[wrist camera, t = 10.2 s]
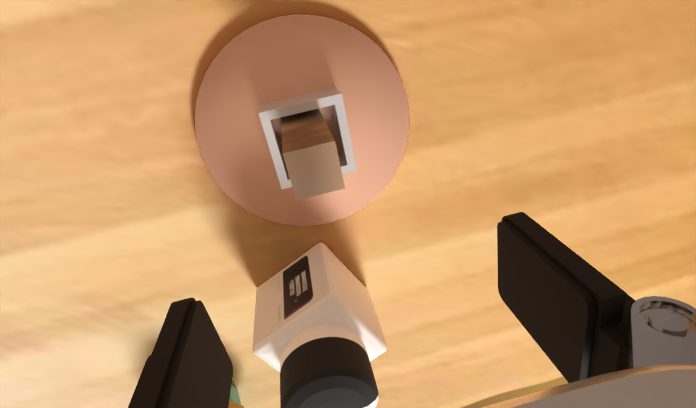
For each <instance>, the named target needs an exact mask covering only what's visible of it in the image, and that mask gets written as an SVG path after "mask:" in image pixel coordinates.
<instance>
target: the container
mask: <svg viewBox="0 0 696 408" xmlns="http://www.w3.org/2000/svg"><path fill="white" fill-rule="evenodd" d="M386 350H387V344H386V341H385V338H384V335H383V332H382V329H381V326H380V323H379V321H378V318H377V315H376V312H375V309H374V306H373V303H372V300H371V297H370V294H369V292H368V290H367V289H366V288H365V287H364V285H363V284H362V283H361V282H360V281H359V280H358V279H357V278H356V277H355V276H354V275H353V274H352V273H351V272H350V271H349V270H348V269H347V268H346V266H345V265H344V264H343V263H342V262H341V261H340V260H339V259H338V258H337V257H336V256H335V255H334V254H333V253H332V252H331V251H330V250H329V249H328V247H327V246H326V245H325V244H324V243H318V244H317V245H315V246H314V247H312V248H311V249H310V250H308V251H307V252H306V253H304V254H303V255H301V256H300V257H299V258H297V259H296V260H295V261H293V262H292V263H291V264H289V265H288V266H286V267H285V268H284V269H282V270H281V271H280V272H278V273H277V274H275V275H274V276H273V277H271V278H270V279H269V280H267V281H266V282H264V283H263V284H262V285H260V286H259V287H258V288H257V291H256V306H255V321H254V335H253V353H254V354H255V355H257V356H258V357H259V358H261V359H262V360H263V361H265V362H266V363H268V364H269V365H270V366H272V367H273V368H274V369H276V370H277V371H278V372H280V395H281V408H375V407H376V405H377V402H378V389H377V385H376V382H375V378H374V375H373V371H372V367H371V364H370V361H372V360H373V359H375V358H376V357H378V356H379V355H381V354H382V353H384V352H385V351H386Z"/></svg>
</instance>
